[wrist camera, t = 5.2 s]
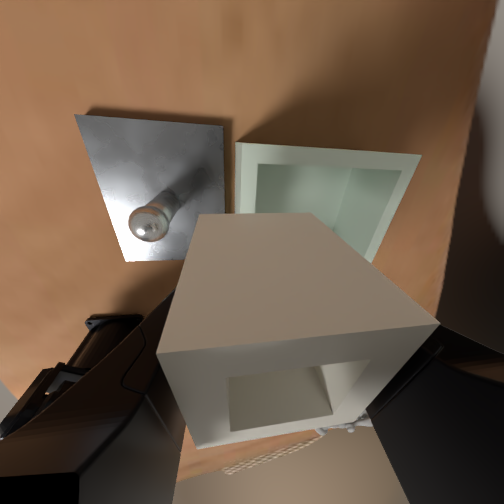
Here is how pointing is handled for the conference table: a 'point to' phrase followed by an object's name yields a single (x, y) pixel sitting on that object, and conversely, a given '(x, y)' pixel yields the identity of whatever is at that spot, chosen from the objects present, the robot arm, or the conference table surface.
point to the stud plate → (155, 180)
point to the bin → (325, 187)
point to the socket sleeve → (281, 329)
